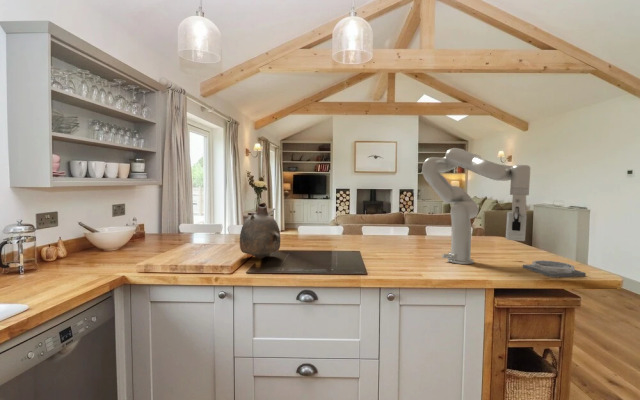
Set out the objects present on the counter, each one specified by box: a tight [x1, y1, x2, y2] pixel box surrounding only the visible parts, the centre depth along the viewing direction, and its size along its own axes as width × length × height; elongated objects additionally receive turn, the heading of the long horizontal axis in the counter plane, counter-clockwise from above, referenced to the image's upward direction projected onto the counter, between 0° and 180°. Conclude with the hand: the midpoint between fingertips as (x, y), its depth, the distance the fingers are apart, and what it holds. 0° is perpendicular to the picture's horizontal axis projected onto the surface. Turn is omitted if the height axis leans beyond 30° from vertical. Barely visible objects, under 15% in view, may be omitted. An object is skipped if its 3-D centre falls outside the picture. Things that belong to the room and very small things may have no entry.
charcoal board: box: [522, 263, 586, 278], centre depth 156 cm, size 17×17×2 cm
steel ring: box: [531, 259, 576, 273], centre depth 156 cm, size 16×16×2 cm
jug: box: [239, 202, 281, 259], centre depth 178 cm, size 24×21×30 cm
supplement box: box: [505, 211, 528, 242], centre depth 155 cm, size 7×7×13 cm
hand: (517, 229), depth 155 cm, fingers closed on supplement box, 8 cm apart
